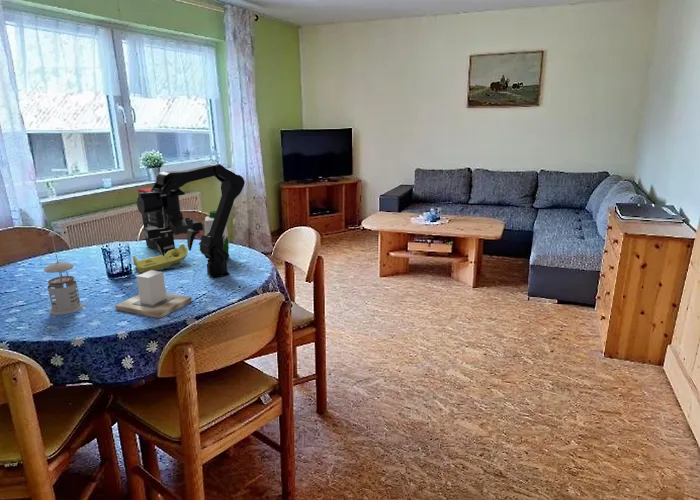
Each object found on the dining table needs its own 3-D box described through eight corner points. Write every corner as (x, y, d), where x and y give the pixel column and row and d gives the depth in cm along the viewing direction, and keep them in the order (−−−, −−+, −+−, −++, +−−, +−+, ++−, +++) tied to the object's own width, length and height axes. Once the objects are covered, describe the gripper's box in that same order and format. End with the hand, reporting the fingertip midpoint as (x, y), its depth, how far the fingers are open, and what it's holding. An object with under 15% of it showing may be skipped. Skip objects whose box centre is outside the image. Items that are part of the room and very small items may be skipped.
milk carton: (229, 255, 201) (225, 210, 195) (229, 262, 192) (225, 214, 187) (208, 257, 199) (203, 211, 193) (207, 263, 191) (202, 215, 185)
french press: (46, 316, 142) (29, 237, 135) (52, 303, 152) (36, 229, 145) (82, 311, 146) (68, 233, 139) (86, 298, 156) (72, 225, 149)
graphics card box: (176, 250, 211) (169, 190, 203) (161, 253, 206) (153, 192, 198) (159, 243, 222) (151, 186, 214) (144, 246, 217) (136, 188, 210)
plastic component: (139, 269, 178) (132, 253, 184) (141, 282, 183) (134, 266, 189) (191, 256, 189) (182, 241, 194) (191, 269, 193) (183, 254, 199)
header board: (150, 294, 159) (148, 281, 158) (191, 301, 152) (190, 288, 151) (115, 309, 147) (113, 295, 145) (159, 318, 140) (157, 303, 138)
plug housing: (155, 296, 153) (151, 270, 150) (166, 298, 151) (163, 271, 148) (140, 302, 147) (136, 275, 145) (152, 305, 145) (148, 277, 143)
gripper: (150, 216, 148) (156, 263, 152) (207, 209, 159) (211, 253, 163) (140, 211, 156) (146, 256, 160) (194, 204, 167) (199, 246, 171)
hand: (176, 253), depth 164 cm, fingers open, 9 cm apart
